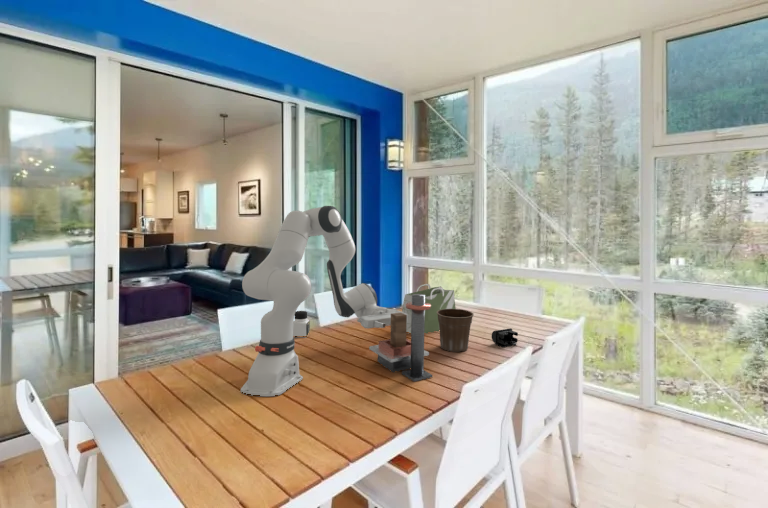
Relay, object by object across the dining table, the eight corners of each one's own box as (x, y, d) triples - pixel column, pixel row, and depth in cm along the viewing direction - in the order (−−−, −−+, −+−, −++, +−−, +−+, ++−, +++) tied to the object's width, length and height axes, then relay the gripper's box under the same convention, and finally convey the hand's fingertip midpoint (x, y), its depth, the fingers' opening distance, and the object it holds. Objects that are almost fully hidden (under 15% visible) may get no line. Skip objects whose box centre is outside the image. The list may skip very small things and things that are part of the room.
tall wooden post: (390, 348, 159) (390, 313, 158) (400, 346, 161) (400, 312, 160) (396, 351, 155) (396, 316, 154) (406, 350, 157) (406, 314, 156)
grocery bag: (417, 336, 197) (418, 289, 195) (398, 330, 208) (399, 286, 206) (459, 326, 218) (460, 283, 216) (440, 321, 228) (441, 280, 227)
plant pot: (472, 355, 170) (474, 318, 169) (434, 352, 174) (435, 315, 172) (472, 343, 186) (473, 309, 185) (437, 341, 190) (438, 307, 188)
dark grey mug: (506, 340, 192) (507, 326, 192) (518, 345, 186) (518, 330, 185) (490, 343, 188) (491, 329, 187) (501, 347, 181) (502, 333, 181)
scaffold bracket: (369, 361, 162) (369, 287, 159) (404, 354, 170) (405, 284, 168) (404, 384, 139) (405, 299, 137) (443, 375, 148) (444, 295, 145)
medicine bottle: (306, 337, 193) (306, 313, 192) (291, 337, 193) (291, 312, 192) (309, 333, 200) (309, 309, 199) (295, 333, 201) (295, 309, 200)
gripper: (355, 312, 167) (370, 319, 155) (397, 307, 177) (414, 313, 165) (355, 327, 168) (370, 335, 156) (397, 321, 178) (414, 328, 166)
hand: (393, 324), depth 161 cm, fingers open, 8 cm apart
